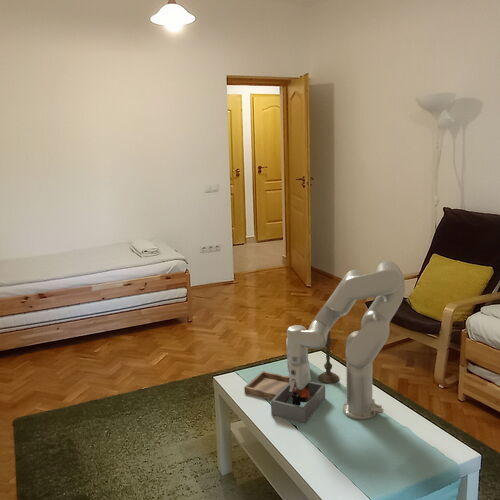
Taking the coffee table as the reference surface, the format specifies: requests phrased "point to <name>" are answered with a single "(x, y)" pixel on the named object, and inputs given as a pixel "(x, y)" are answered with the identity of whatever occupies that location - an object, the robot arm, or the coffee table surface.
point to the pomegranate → (303, 394)
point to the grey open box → (297, 412)
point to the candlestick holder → (328, 366)
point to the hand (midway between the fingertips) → (300, 399)
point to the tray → (266, 385)
